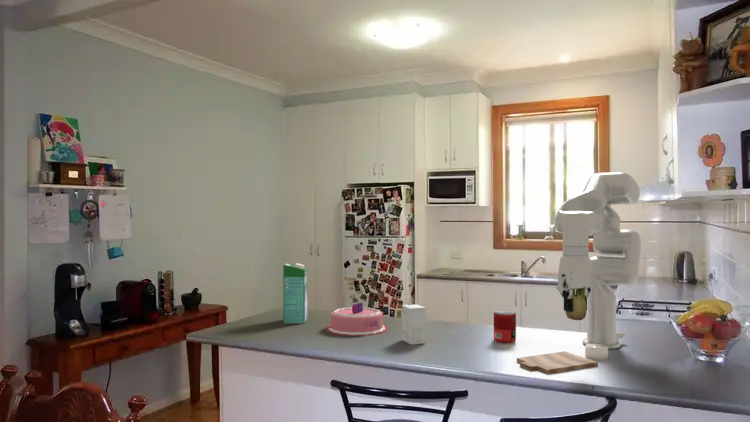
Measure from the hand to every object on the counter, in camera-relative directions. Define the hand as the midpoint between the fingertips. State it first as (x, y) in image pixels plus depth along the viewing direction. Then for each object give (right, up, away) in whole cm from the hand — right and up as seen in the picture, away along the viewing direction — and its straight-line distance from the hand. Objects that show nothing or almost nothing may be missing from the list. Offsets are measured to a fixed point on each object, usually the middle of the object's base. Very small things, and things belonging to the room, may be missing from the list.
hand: (575, 309), depth 171 cm
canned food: (-14, -17, +32) cm, 39 cm away
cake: (-69, -18, +52) cm, 89 cm away
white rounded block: (+11, -18, +11) cm, 23 cm away
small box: (-48, -17, +31) cm, 60 cm away
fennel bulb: (0, -3, 0) cm, 3 cm away
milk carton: (-96, -17, +67) cm, 119 cm away
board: (-6, -17, +2) cm, 18 cm away
